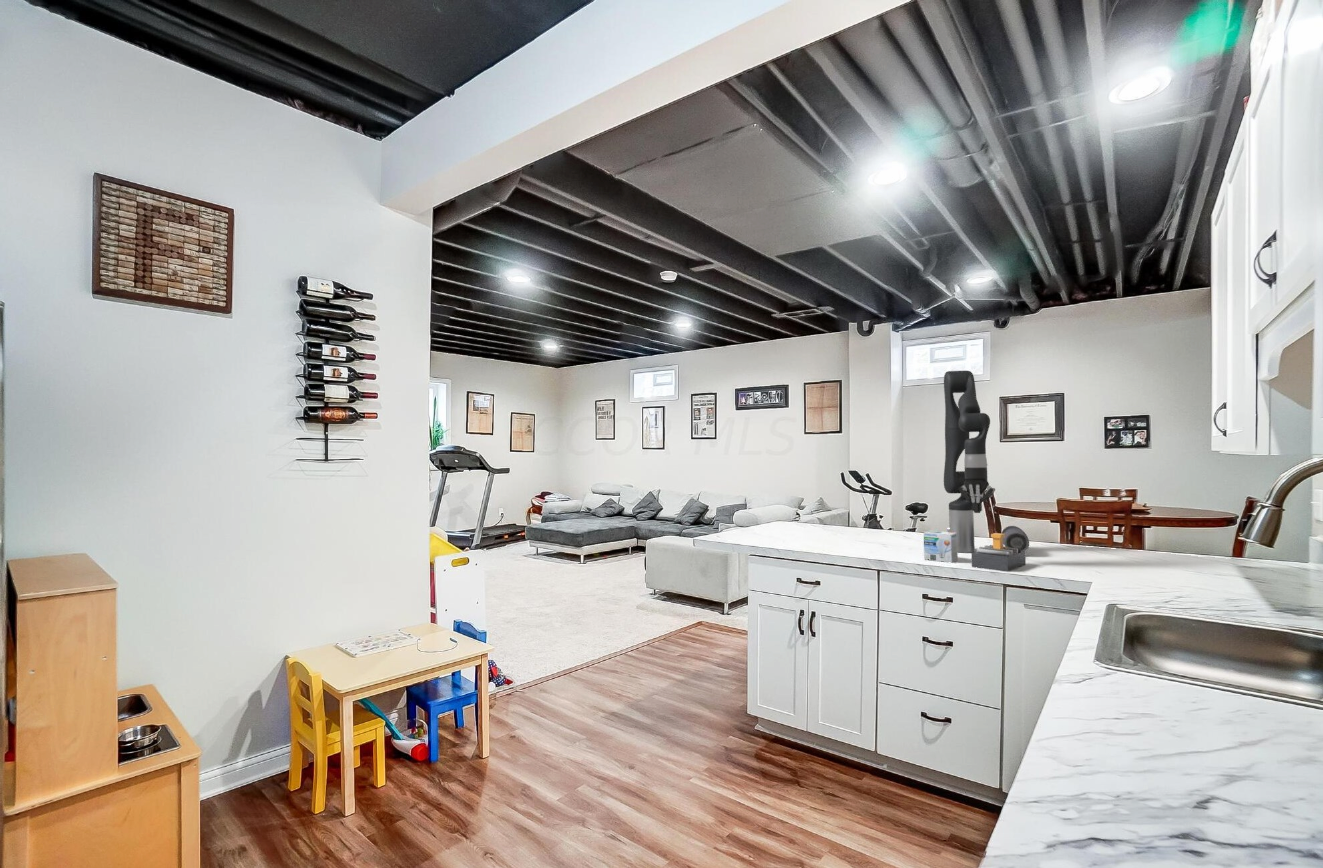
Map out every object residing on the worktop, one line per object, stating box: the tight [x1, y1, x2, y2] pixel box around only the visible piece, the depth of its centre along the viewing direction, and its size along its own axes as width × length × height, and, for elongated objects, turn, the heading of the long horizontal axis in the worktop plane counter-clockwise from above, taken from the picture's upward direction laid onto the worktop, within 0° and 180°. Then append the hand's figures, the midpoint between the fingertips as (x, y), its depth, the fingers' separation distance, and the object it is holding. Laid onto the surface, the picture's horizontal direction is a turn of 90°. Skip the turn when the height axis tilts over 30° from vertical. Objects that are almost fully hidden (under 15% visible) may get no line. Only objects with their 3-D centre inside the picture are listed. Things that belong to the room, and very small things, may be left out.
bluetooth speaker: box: [1001, 525, 1030, 552], centre depth 250 cm, size 23×9×10 cm, turn 154°
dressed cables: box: [976, 544, 1021, 556], centre depth 222 cm, size 11×12×1 cm
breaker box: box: [970, 545, 1027, 572], centre depth 222 cm, size 12×17×6 cm
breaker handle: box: [990, 532, 1005, 549], centre depth 222 cm, size 3×4×6 cm
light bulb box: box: [923, 530, 959, 564], centre depth 235 cm, size 11×7×11 cm, turn 47°
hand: (977, 512), depth 228 cm, fingers closed
